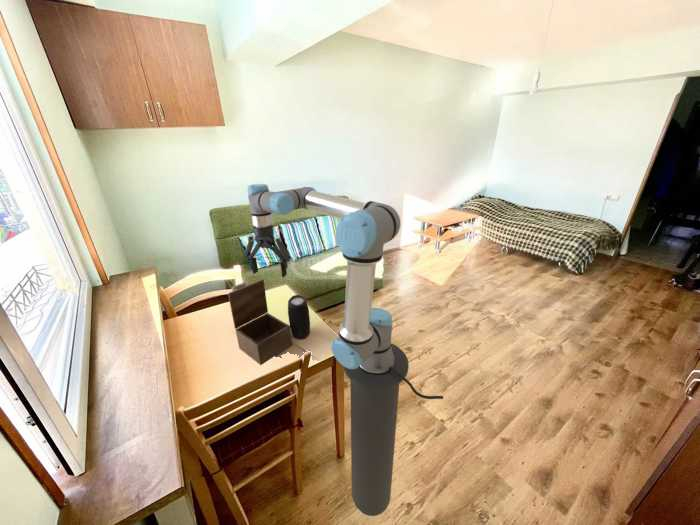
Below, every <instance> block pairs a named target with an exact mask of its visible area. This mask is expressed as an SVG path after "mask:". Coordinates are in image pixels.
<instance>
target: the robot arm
mask: <svg viewBox="0 0 700 525" xmlns="http://www.w3.org/2000/svg"><path fill="white" fill-rule="evenodd" d="M247 198H248V204H249V209H250V214H251V215H250V216H251V223H252V226H253V228H252V229H253V234H251V235H249V236H248V237H247V240H248V241H247V245H246V248H245V251H244V255H243V256H244V258H248V260H249V265H250V267H251V269H252V274H253V275H256V274H257V273H259V269H258V268H259V267H258V261H257V260H258V259H257V257H256V255H257V253H258V252H259V251H260V249H269V250H271V251H272V252H273V253H274V254H275V256H276V257H278V259H279V260H280V262H279V263H280V270H281V277H282V278H285V277H286V276H287V275H288V272H287V269H288V268H289V267H288V266H289V265H288V262H289V261H290V260H291V259H292V257H291V255H290V253H289V251H288V249H287V247H286V245H285V244H284V242H283V238H282V236H279V237H275V230H274V224H273V215H272V214H275V215H279V216H282V215H283V216H286V215H289V214H290V213H291V212H292V211H295V210H300V209H305V210H307V211H311V212H315V213H318V214H320V215H321V214H323V215H325V216H328V217H331V218H336V219H338V220H339V221H338V223H337V225H336V228H335V232H334V239H335V244H336V245H338V250H339V251H340V253H341V254H342V257H343V259H345V261H346V262H347V263H346V278H345V295H344V297H345V298H344V314H343V321H342V322H341V323H340V324H339V327H338V337H337V338H336V339H334V340H333V342H331V346H330V347H331V352H332V354H333V356H334V358H335V359H336V361H337V362H338V363H339V364H340V365H341V366H342V367H343V366H344V367H346V368H348V369H356V368H358V367H359V368H360V369H361V370H363V371H364V372H366V373H369V374H373V375H380V374H385V373H387V372H389V371H390V370H392V371H393V372H394V373H395V374H397V375H398V376H399V377H400V378H401V379H403V382H405V383H406V384H407V385H408V386H409V387H410V389H411V390H412V392H413V393H414V394H415V395H416V396H418V397H419V398H421V399H426V400H444V396H443V395H424V394H423V393H420V392H418V391H417V390H416V388H415V387H414V385H413V384H412V383H411V382H410V380H408V379H407V377H405V378H404V377H403V376H402V375H401V374H399V373H398V372H397V371H396V370H394V369H393V366H394V354H393V352H392V349H391V343H392V335H393V334H392V332H393V330H392V329H393V324H394V323H393V315H392V314H391V313H390V312H389V311H388V310H386V309H384V308H381V307H372V305H373V304H372V303H373V297H374V286H375V277H376V270H377V269H376V268H377V264H378V263H379V262H381V260H382V259H383V254H384V253H383V252H384V245H385V244H387V243H389V242H390V241H391V242H392V241H393V239H395V238H396V237H397V235H398V234H399V232H400V229H401V217H400V215H399V213H398V212H397V210H396V209H395V207H393V206H391V205H389V204H386V203H382V202H377V201H373V200H369V201H366V202H364V201H359V200H355V199H351V198H346V197H342V196H337V195H334V194H330V193H325V192H321V191H317V190H316V188H314V187H312V186H302V187H298V188H293V189H286V190H280V191H270V189H269V186H268V184H265V183H255V184H254V183H253V184H250V185H248V186H247ZM255 243H256V244H255Z"/></svg>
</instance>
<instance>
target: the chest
mask: <svg viewBox="0 0 700 525" xmlns="http://www.w3.org/2000/svg"><path fill="white" fill-rule="evenodd" d="M234 330H235V335H236V340H237V344H238V349H239V350H240V351H241V352H243V353H244V354H245V355H247V356H248V357H249V358H251V359H252V360H253V361H255V362H256V363H257V364H259V365H260V366H262V365H264V364H265V363H267V362H268V361H270V360H272V359H273V358H274V357H276V356H277V355H279V354H281V353H282V352H284V351H285V350H287V349H288V348H289V347H291V346H293V341H292V332H291V328H290V324H288V323H286V322H284V321H283V320H281V319H279V318H277V317H276V316H274V315H272V314H270V313H269V312H267V313H266V314H264V315H262V316H260V317H258V318H256V319H254V320H252V321H250V322H248V323H246V324H244V325H242V326H240V327H238V328H236V329H235V328H234Z"/></svg>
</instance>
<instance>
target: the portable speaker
mask: <svg viewBox="0 0 700 525" xmlns="http://www.w3.org/2000/svg"><path fill="white" fill-rule="evenodd" d="M287 315H288V316H287V317H288V322H289V324H288V325H289V326H290V331H291V336H292V337H293V338H294V339H296V340H305V339H306V338H307V337H309V335H310V332H311V321H310V320H311V319H310V308H309V306H308V302H307V298H306V297H305V296H303V295H301V294H294V295H292V296H291V297H290V298H289V299H288V301H287Z"/></svg>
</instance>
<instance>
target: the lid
mask: <svg viewBox="0 0 700 525" xmlns="http://www.w3.org/2000/svg"><path fill="white" fill-rule="evenodd" d="M265 286H266V285H265V280H264V279H263V278H262V279H260V280H257V281H255V282H252V283H249V284H247V282H245V281H243V282H241V283H238V284H236V285H232V286H231V291H230V292H228V293H227V296H228V302H229V307H230V310H231V317H232V322H233V327H234V330H235V329H237V328H239V327H241V326H243V325H245V324H247V323H249V322H251V321H253V320H255V319H257V318H259V317H261V316H263V315H264V314H266V313H269V308H268V302H267V295H266V294H267V293H266V287H265Z"/></svg>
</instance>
